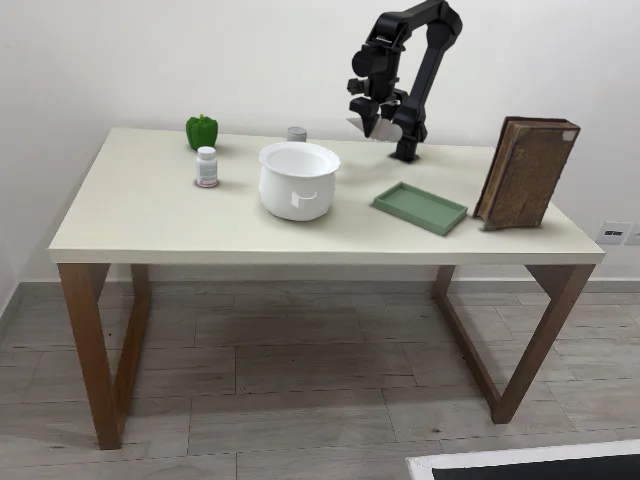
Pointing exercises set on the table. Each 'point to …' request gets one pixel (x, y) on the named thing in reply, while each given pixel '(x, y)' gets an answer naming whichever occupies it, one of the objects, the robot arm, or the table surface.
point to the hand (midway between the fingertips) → (374, 134)
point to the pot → (297, 179)
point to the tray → (421, 207)
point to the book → (525, 171)
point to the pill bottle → (206, 167)
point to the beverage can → (296, 134)
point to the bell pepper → (201, 132)
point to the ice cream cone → (380, 129)
